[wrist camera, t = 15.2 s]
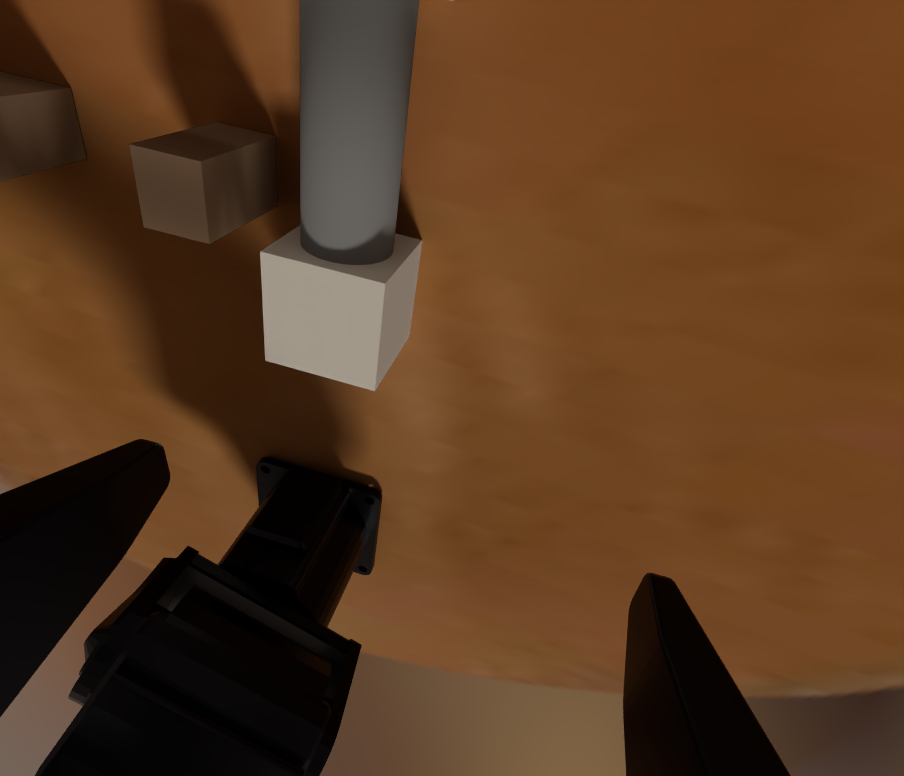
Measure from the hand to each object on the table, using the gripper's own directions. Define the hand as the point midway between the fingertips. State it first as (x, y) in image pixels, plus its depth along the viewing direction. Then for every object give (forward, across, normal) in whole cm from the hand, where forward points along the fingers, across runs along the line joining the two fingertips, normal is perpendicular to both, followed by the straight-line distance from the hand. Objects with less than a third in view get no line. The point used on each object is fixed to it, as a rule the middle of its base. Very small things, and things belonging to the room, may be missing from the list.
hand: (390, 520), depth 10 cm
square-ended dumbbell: (+12, +5, -4) cm, 13 cm away
